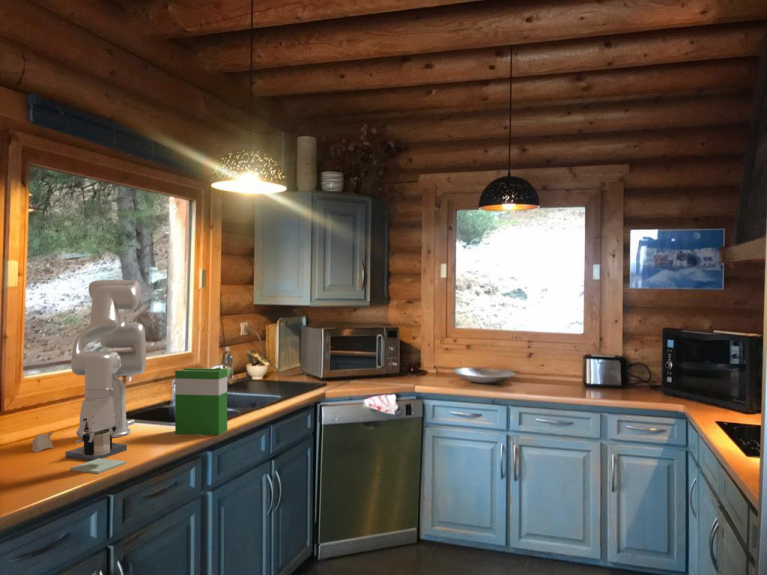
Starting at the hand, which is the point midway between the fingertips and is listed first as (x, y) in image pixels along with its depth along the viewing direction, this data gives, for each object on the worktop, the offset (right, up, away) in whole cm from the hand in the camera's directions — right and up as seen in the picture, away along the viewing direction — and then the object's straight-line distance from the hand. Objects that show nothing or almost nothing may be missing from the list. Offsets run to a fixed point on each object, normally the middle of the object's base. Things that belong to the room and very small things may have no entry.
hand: (98, 451), depth 184 cm
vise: (-8, -5, +15) cm, 17 cm away
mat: (0, -5, 0) cm, 5 cm away
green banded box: (+18, -5, +45) cm, 48 cm away
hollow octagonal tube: (0, 0, 0) cm, 0 cm away
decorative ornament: (-29, -5, +21) cm, 37 cm away
